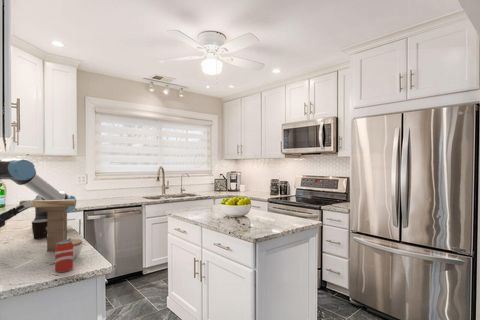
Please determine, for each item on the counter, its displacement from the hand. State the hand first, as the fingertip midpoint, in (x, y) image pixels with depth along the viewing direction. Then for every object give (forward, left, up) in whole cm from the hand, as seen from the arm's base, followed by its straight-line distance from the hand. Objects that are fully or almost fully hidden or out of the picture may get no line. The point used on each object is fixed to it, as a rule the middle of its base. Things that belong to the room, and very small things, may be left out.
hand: (36, 200), depth 144 cm
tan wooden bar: (0, +5, -3) cm, 6 cm away
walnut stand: (0, +8, -26) cm, 27 cm away
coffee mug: (-29, -6, -26) cm, 39 cm away
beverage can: (+33, +21, -26) cm, 47 cm away
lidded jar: (+17, +19, -26) cm, 36 cm away
